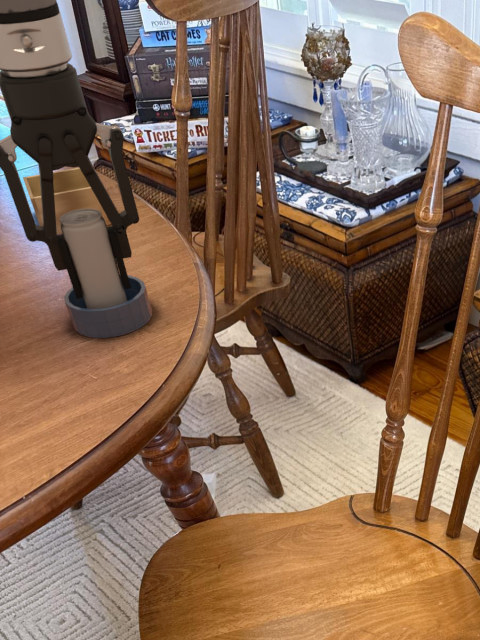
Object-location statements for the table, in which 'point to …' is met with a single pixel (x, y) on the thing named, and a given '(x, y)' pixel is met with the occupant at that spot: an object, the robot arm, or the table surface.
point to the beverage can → (93, 258)
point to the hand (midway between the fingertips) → (102, 288)
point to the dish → (111, 313)
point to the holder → (64, 195)
